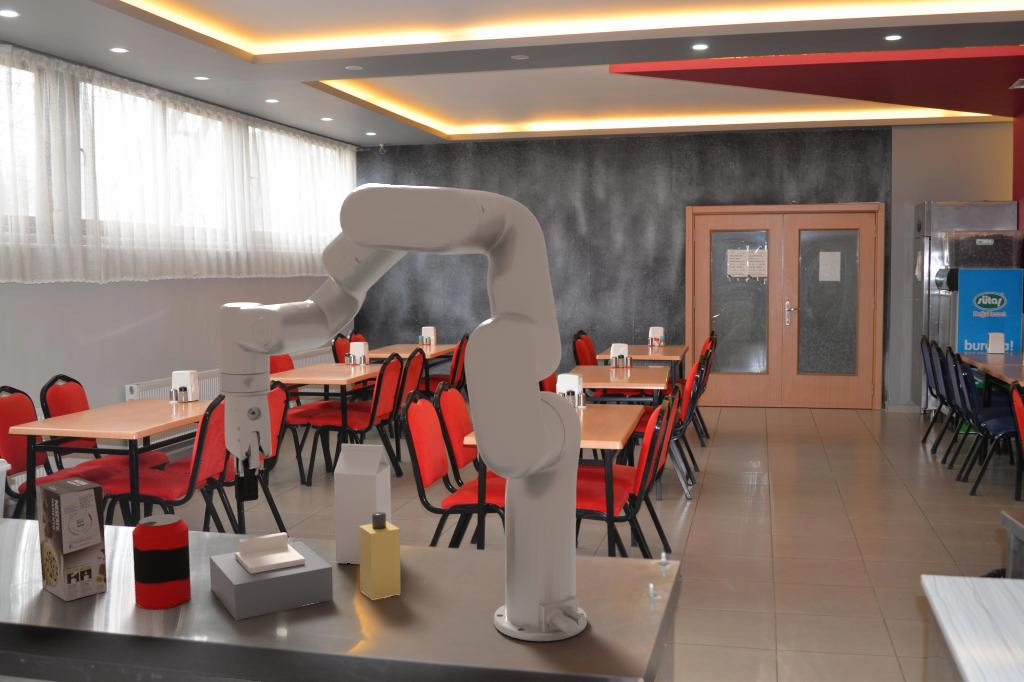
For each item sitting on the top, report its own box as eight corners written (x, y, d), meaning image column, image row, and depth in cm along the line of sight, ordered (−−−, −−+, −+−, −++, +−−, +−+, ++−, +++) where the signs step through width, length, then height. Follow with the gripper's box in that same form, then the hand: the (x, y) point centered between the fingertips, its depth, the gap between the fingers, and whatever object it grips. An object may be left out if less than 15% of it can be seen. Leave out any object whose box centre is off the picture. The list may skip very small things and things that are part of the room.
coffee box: (109, 591, 140) (104, 485, 139) (65, 603, 136) (59, 493, 134) (83, 576, 147) (78, 475, 145) (40, 587, 142) (34, 483, 140)
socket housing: (332, 600, 136) (332, 566, 136) (235, 620, 129) (234, 584, 129) (301, 571, 148) (300, 541, 148) (210, 588, 141) (209, 556, 141)
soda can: (123, 606, 135) (119, 524, 133) (161, 588, 142) (158, 510, 140) (165, 613, 132) (162, 530, 131) (202, 594, 139) (199, 515, 138)
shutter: (305, 563, 137) (304, 545, 137) (250, 573, 133) (249, 554, 132) (287, 548, 144) (287, 530, 143) (235, 557, 140) (234, 539, 139)
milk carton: (377, 566, 151) (375, 450, 149) (335, 563, 152) (333, 448, 150) (391, 552, 158) (390, 441, 156) (351, 550, 159) (349, 439, 157)
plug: (400, 595, 138) (399, 515, 137) (372, 601, 136) (370, 520, 135) (388, 585, 142) (386, 508, 141) (360, 591, 140) (358, 512, 139)
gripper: (283, 388, 140) (285, 508, 142) (255, 375, 153) (257, 485, 155) (233, 392, 136) (235, 515, 138) (208, 378, 149) (210, 491, 151)
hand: (246, 499), depth 146 cm, fingers closed
